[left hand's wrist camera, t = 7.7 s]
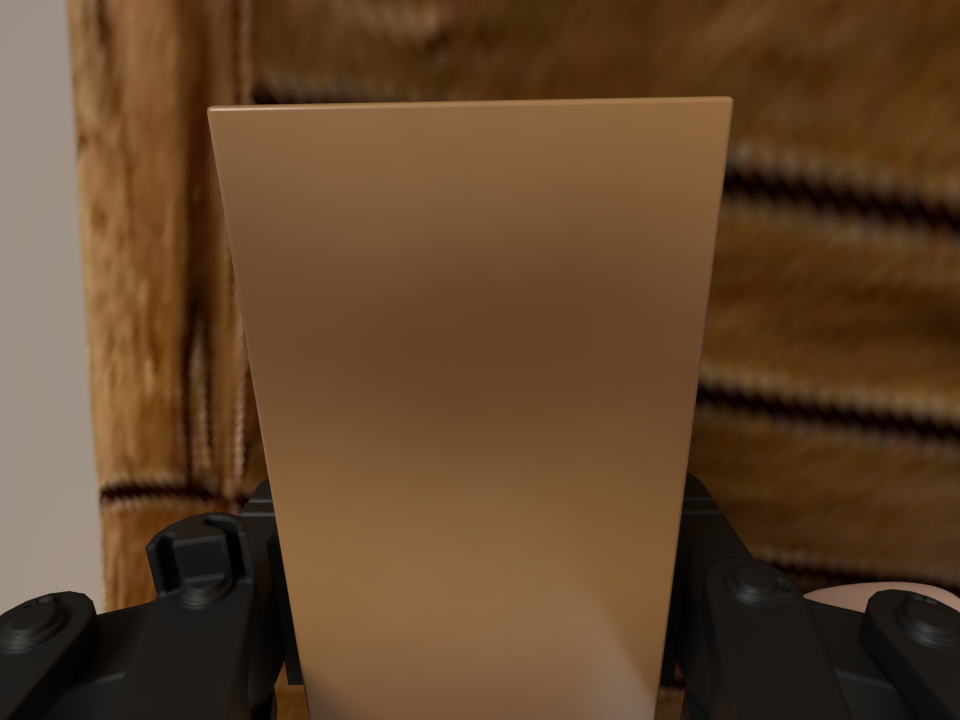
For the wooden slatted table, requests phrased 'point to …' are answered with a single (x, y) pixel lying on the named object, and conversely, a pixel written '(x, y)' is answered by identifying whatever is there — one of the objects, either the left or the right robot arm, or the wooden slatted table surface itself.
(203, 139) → the wooden slatted table surface
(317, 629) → the beam
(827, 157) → the wooden slatted table surface
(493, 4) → the wooden slatted table surface
